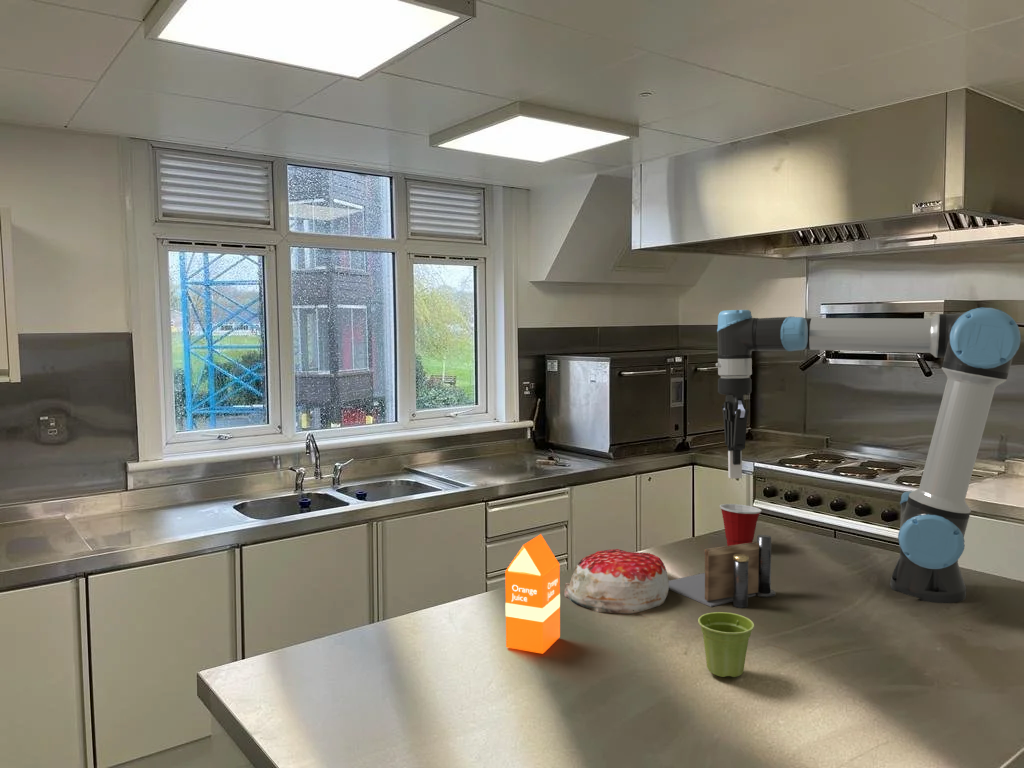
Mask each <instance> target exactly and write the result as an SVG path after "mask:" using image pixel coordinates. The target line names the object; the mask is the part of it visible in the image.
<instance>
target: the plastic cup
mask: <svg viewBox="0 0 1024 768" xmlns="http://www.w3.org/2000/svg"><path fill="white" fill-rule="evenodd" d="M719 509H720V510H721V513H722V520H723V526H724V533H725V540H726V546H731V545H738V544H745V543H752V542H753V541H754V538H755V532H756V527H757V524H758V523H757V522H758V519H759V516H760V514H761V513H762V511H763V510H762V509H760V508H759V507H755V506H751V505H745V504H739V503H738V504H737V503H724V504H723V503H722V504H719Z"/></svg>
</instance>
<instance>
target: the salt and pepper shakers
mask: <svg viewBox="0 0 1024 768" xmlns="http://www.w3.org/2000/svg"><path fill="white" fill-rule="evenodd" d="M756 543H759V571H758V592H757V593H755V594H756V597H759V598H773V597H775V596H776V591H775V590H773V589H772V588H771V587H772V585H771V582H772V581H771V578H772V577H771V576H772V536H771V535H769V534H758V535H756ZM733 560H734V579H733V601H732V602H733V603H732V604H733V605H732V606H733V607H735V608H739V609H746V608H748V607H749V597H748V561H749V556H748V555H744V554H735V555H733Z"/></svg>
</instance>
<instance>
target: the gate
mask: <svg viewBox="0 0 1024 768" xmlns="http://www.w3.org/2000/svg"><path fill="white" fill-rule="evenodd" d="M735 554H744V555H748V556H749V561H748V594H751V593H757V592H758V571H759V543H757V541H756V542H755V541H754V542H752V543H745V544H738V545H731V546H727V545H724V546H719V547H711V548H705V549H704V573H705V600H707V601H711V600H717V599H722V598H728V597H733V579H734V560H733V555H735Z"/></svg>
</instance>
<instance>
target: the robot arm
mask: <svg viewBox="0 0 1024 768" xmlns="http://www.w3.org/2000/svg"><path fill="white" fill-rule="evenodd" d="M717 315H718V316H717V329H716V335H717V362H716V363H715V367H716V368H717V375H718V379H717V393H718V394H719V395H725V401H724V402H723V404H721V410H722V414H723V428H724V429H723V430H724V444H725V446H727V448H726V449H727V456H728V457H727V458H728V460H727V461H728V462H727V463H728V465H727V466H728V467H727V468H728V473H727V475H728V476H727V477H728V478H729V479H742V478H743V473H742V472H743V469H742V468H743V465H742V464H743V462H742V460H743V456H742V455H743V454H742V453H743V452H742V451H743V450H745V449H746V440H747V439H746V438H747V426H748V425H747V423H748V417H749V408H747V407H746V405H747V404H746V401H745V399H744V398H745V397H744V395H750V394H751V393H752V389H753V388H752V387H753V386H752V379H751V377H750V376H751V375H753V369H752V367H753V366H752V365H753V360H752V352H753V351H754V352H759V351H760V352H761V351H764V352H767V351H768V352H770V351H771V352H779V351H781V352H782V351H783V352H784V351H786V352H795V351H803V350H804V351H807V350H811V351H812V350H813V351H814V350H815V351H849V352H850V351H851V352H852V351H854V352H879V353H880V352H883V353H884V352H890V353H923V354H924V353H926V354H930V355H932V356H933V357H934V358H936V359H937V358H941V359H943V362H942V366H941V370H942V371H943V373H944V374H945V376H946V383H945V386H944V391H943V393H942V398H941V399H942V400H941V403H940V406H939V410H938V414H937V418H936V422H935V425H934V428H933V433H932V437H931V441H930V444H929V448H928V451H927V456H926V461H925V463H924V467H923V472H922V475H921V479H920V482H919V483H920V484H919V487H918V488H917V489H916V490H913V491H911V490H910V491H904V492H903V493H902V494H901V496H900V501H899V506H900V524H899V531H898V533H897V534H898V535H897V539H898V544H899V556H898V560H897V562H896V564H895V567H894V568H893V572H892V575H891V577H890V589H891V590H892V591H895V592H898V593H901V594H904V595H907V596H911V597H914V598H917V600H918V601H922V602H928V603H936V604H953V603H960V602H963V601H965V600H966V599H967V587H966V584H965V581H964V577H963V575H962V572H961V568H960V565H959V559H960V558H961V556H962V555H963V552H964V551H965V534H966V532H967V531H966V530H967V527H968V523H969V520H970V516H971V512H972V510H971V508H970V506H969V504H967V502H966V497H967V492H968V490H969V487H970V482H971V480H972V479H971V478H972V475H973V472H974V467H975V464H976V460H977V457H978V452H979V449H980V446H981V442H982V438H983V435H984V431H985V427H986V425H987V420H988V415H989V412H990V408H991V405H992V403H993V399H994V393H995V390H996V388H997V387H998V386H999V385H1002V384H1004V383H1005V382H1007V380H1008V376H1009V372H1010V369H1011V365H1012V363H1013V359H1014V356H1015V355H1016V354H1017V352H1018V351H1019V348H1020V345H1021V339H1022V337H1021V331H1020V328H1019V325H1018V324H1017V322H1016V320H1015V319H1014V318H1013V317H1012V316H1011V315H1009V314H1008V313H1007V312H1005V311H1003V310H1001V309H997V308H993V307H984V306H982V307H977V308H972V309H970V310H968V311H964V312H957V313H937V314H936V315H935V316H934V317H932V318H901V317H900V318H898V317H897V318H895V317H894V318H887V317H886V318H885V317H883V318H881V317H880V318H877V317H876V318H873V317H872V318H870V317H869V318H868V317H867V318H864V317H860V318H859V317H858V318H857V317H855V318H854V317H852V318H849V317H843V318H842V317H827V318H826V317H810V318H809V317H803V316H783V317H782V316H780V317H779V316H777V317H764V318H763V317H761V318H760V317H759V318H758V317H753V316H752V311H751V310H749V309H731V310H729V309H728V310H727V309H725V310H721V311H720V312H719V314H717ZM719 376H720V377H719Z"/></svg>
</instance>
